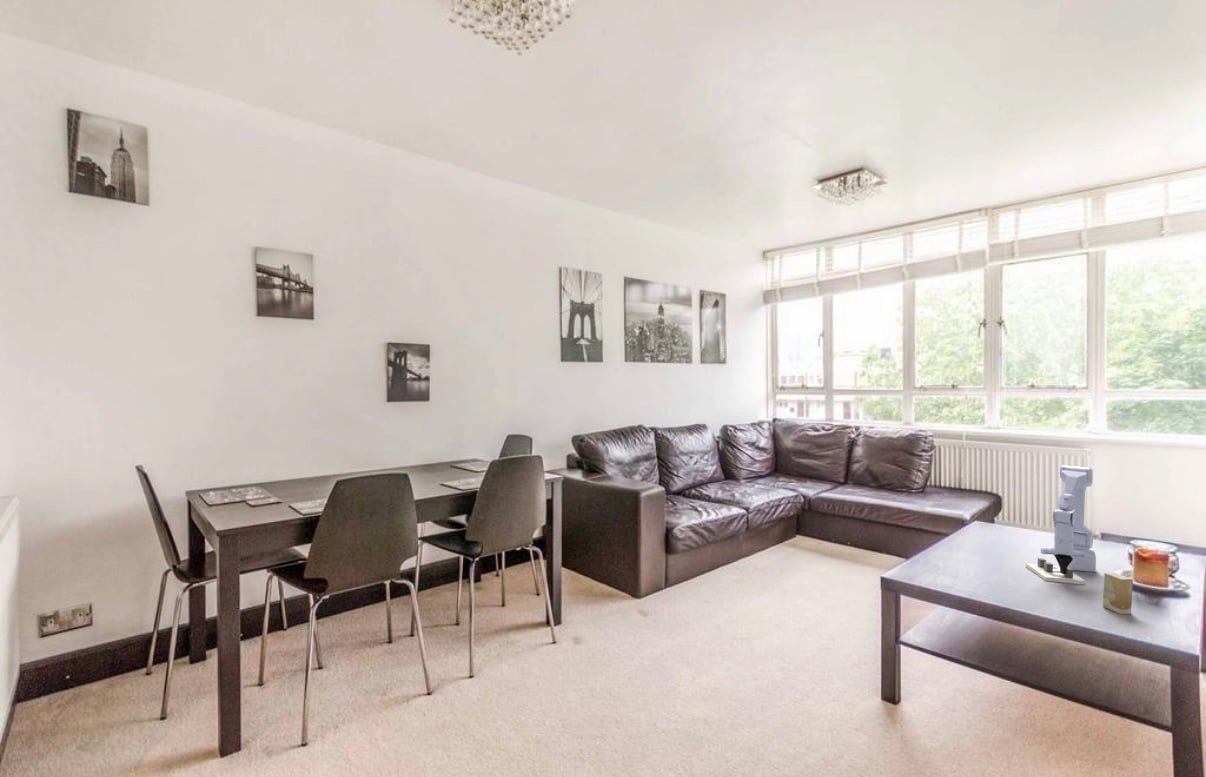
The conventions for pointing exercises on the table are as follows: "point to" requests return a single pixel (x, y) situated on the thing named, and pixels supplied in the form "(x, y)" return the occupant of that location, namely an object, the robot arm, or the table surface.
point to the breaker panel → (1052, 572)
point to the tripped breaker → (1069, 573)
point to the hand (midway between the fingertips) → (1063, 573)
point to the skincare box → (1117, 593)
